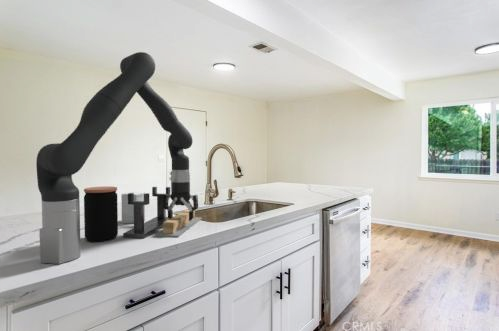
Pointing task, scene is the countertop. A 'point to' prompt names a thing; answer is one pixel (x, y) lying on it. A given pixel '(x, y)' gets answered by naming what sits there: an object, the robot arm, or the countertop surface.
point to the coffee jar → (100, 214)
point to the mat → (179, 229)
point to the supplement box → (130, 207)
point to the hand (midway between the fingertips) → (180, 219)
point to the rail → (177, 222)
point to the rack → (139, 226)
